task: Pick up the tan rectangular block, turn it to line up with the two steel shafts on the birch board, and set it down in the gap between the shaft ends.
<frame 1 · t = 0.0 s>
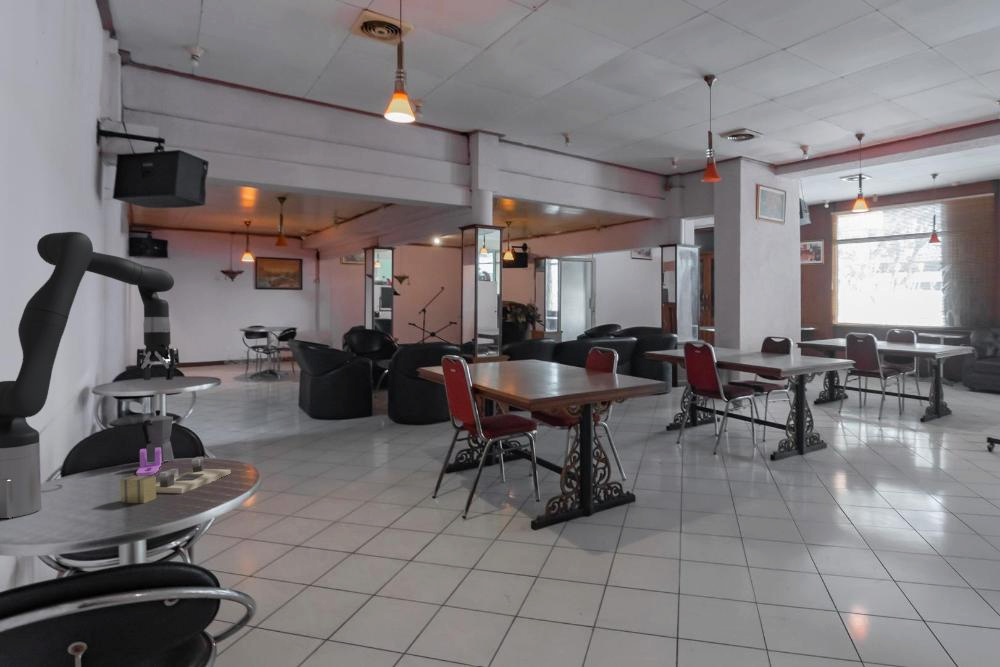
hand: (158, 379, 182), 29 cm above the table, fingers open, 8 cm apart
tan rectangular block: (139, 500, 146), on the table
bracket: (148, 473, 177), on the table
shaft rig: (190, 482, 162), on the table
coffeepot: (157, 462, 190), on the table
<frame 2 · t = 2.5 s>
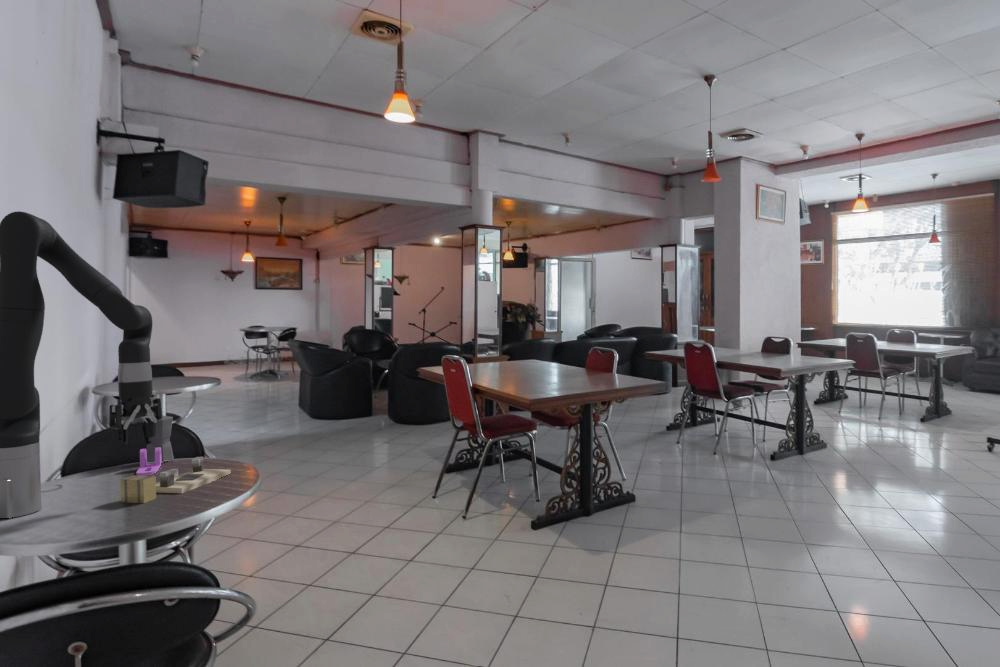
hand: (137, 440, 146), 16 cm above the table, fingers open, 8 cm apart
nothing on the table moved.
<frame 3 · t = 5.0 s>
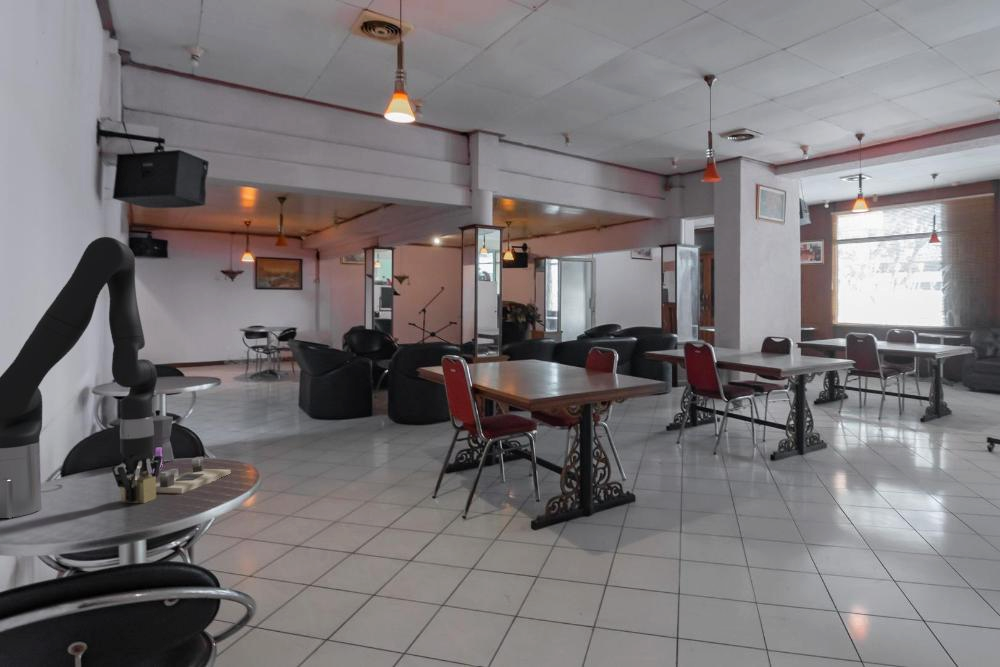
hand: (139, 498, 146), 0 cm above the table, fingers closed on tan rectangular block, 4 cm apart
tan rectangular block: (138, 500, 146), on the table, touching gripper
everything else where it was.
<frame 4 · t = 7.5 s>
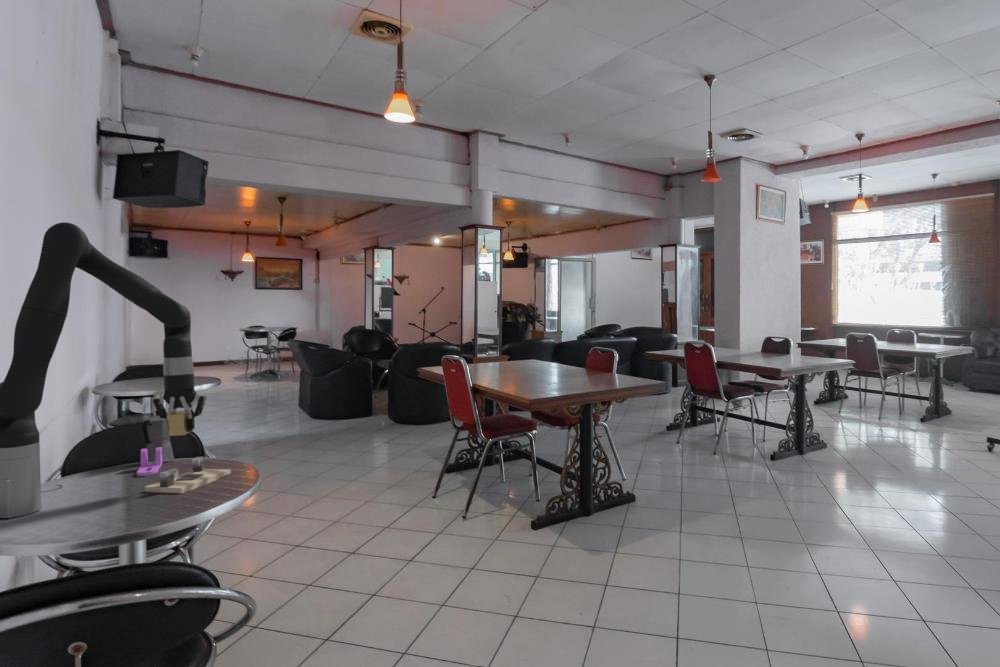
hand: (181, 431, 159), 16 cm above the table, fingers closed on tan rectangular block, 4 cm apart
tan rectangular block: (181, 433, 159), point 15 cm above the table, touching gripper
everything else where it was.
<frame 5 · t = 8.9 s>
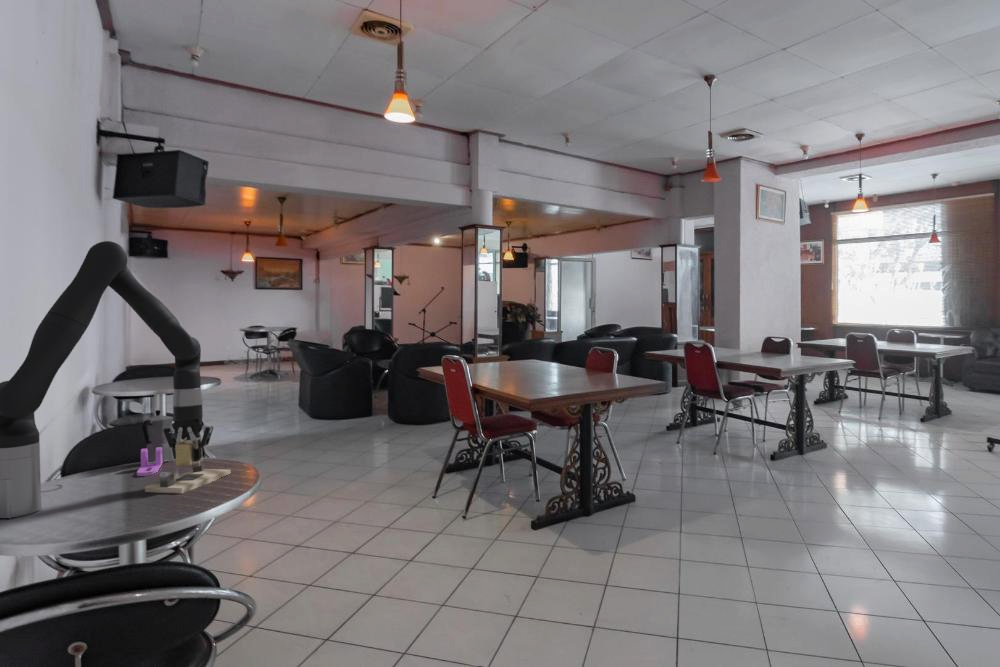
hand: (189, 460, 163), 6 cm above the table, fingers closed on tan rectangular block, 4 cm apart
tan rectangular block: (189, 462, 162), point 6 cm above the table, touching gripper
everything else where it was.
when the fingers open (3 cm above the table, at t = 10.0 s): tan rectangular block stays where it is, resting on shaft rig.
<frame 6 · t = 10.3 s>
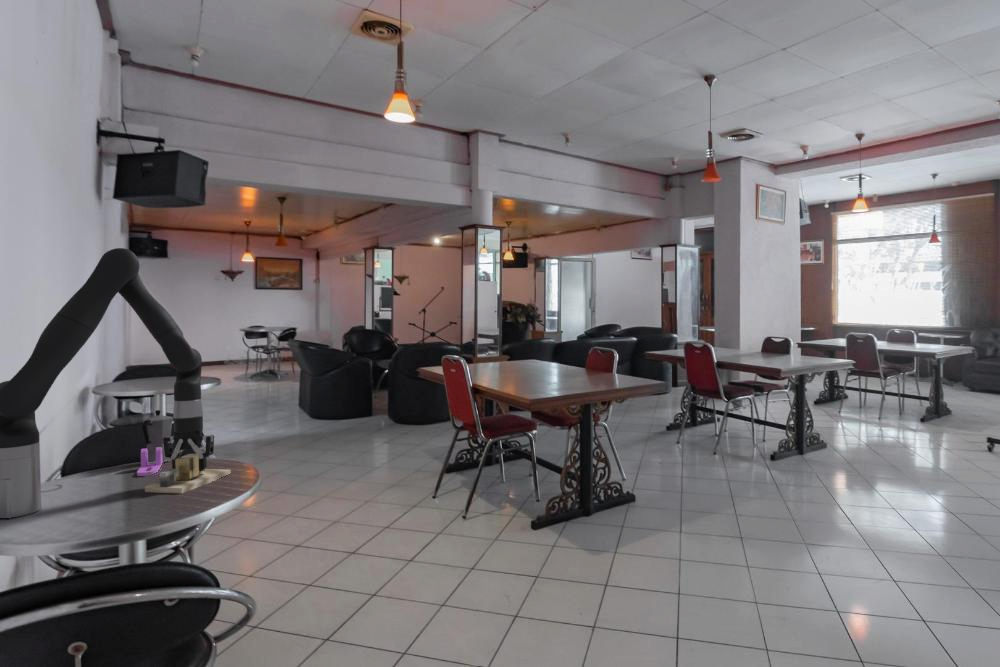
hand: (189, 470, 162), 4 cm above the table, fingers open, 6 cm apart
tan rectangular block: (189, 476, 162), point 2 cm above the table, touching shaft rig
everything else where it was.
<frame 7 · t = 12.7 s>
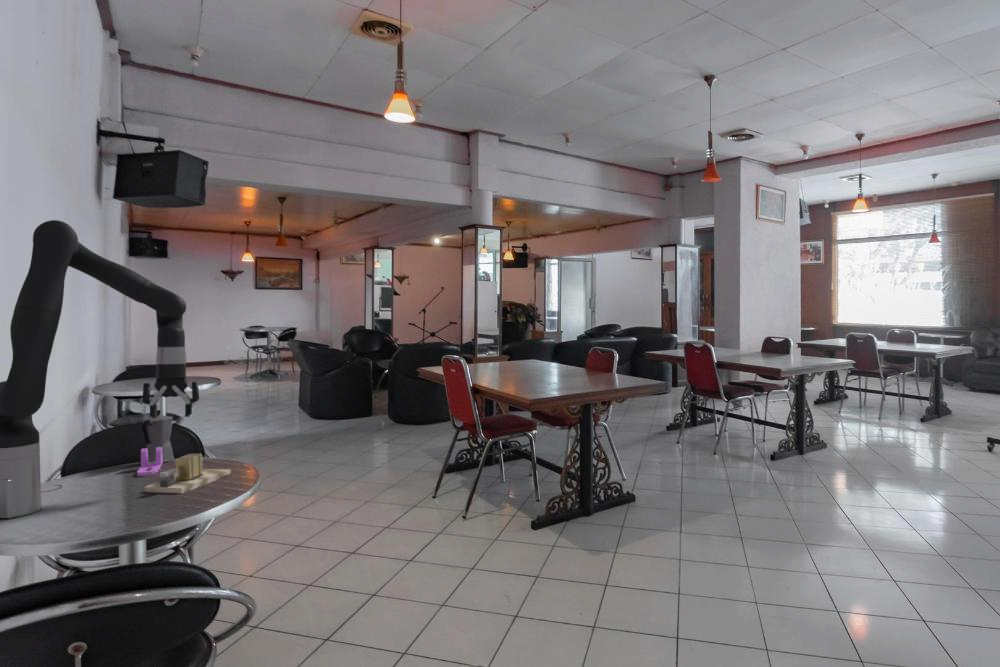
hand: (171, 417, 162), 20 cm above the table, fingers open, 8 cm apart
nothing on the table moved.
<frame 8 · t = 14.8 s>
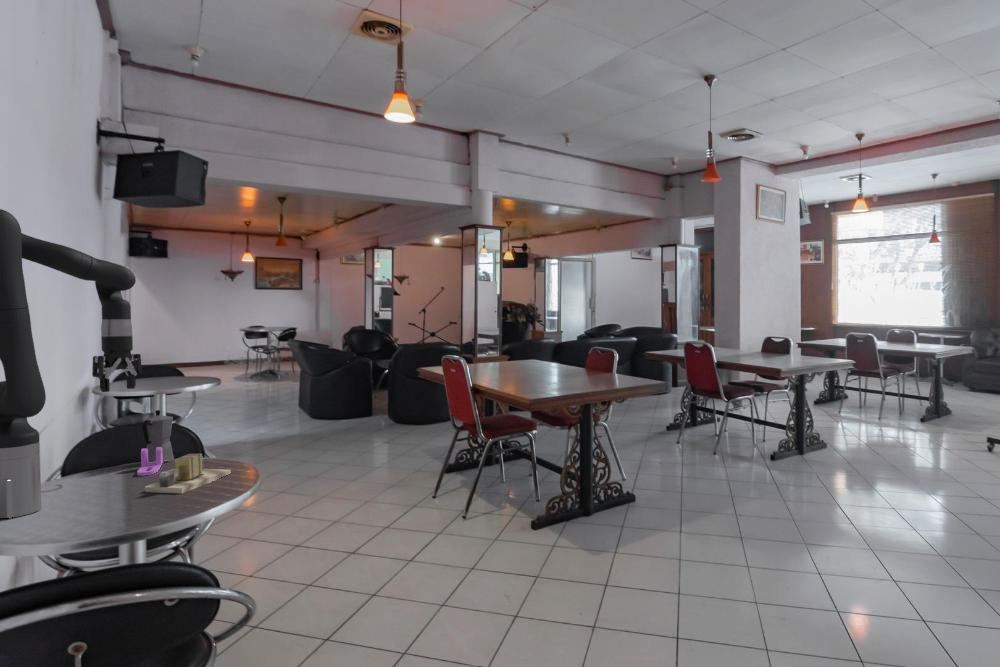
hand: (118, 390, 161), 28 cm above the table, fingers open, 8 cm apart
nothing on the table moved.
at the end: tan rectangular block 0.1 cm off-centre on the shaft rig, point 1.8 cm above the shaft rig's base; tan rectangular block tilted 0°; the gripper is holding nothing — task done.
